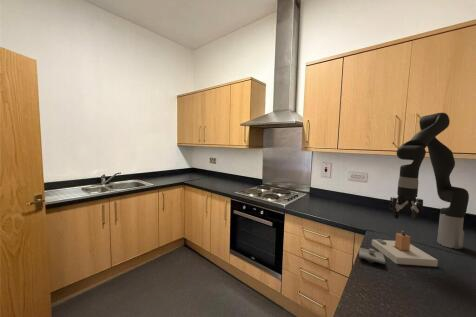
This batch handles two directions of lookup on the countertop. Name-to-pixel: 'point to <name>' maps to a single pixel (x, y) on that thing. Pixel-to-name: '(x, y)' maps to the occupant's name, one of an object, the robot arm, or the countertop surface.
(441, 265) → the countertop surface
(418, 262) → the socket
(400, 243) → the plug
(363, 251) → the light switch
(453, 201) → the robot arm
